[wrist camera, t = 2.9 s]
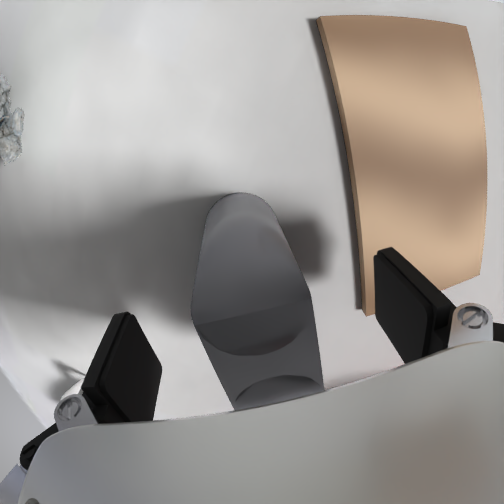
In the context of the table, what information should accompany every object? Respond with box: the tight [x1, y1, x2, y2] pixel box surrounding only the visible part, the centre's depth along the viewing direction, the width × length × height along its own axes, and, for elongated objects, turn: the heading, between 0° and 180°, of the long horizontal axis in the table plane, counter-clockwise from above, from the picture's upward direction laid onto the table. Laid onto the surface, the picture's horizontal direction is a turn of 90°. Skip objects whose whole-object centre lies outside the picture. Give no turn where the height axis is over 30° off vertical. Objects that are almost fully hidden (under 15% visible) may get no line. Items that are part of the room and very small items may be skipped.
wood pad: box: [316, 15, 487, 316], centre depth 12 cm, size 14×8×1 cm, turn 13°
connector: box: [191, 193, 324, 410], centre depth 11 cm, size 9×3×6 cm, turn 13°
